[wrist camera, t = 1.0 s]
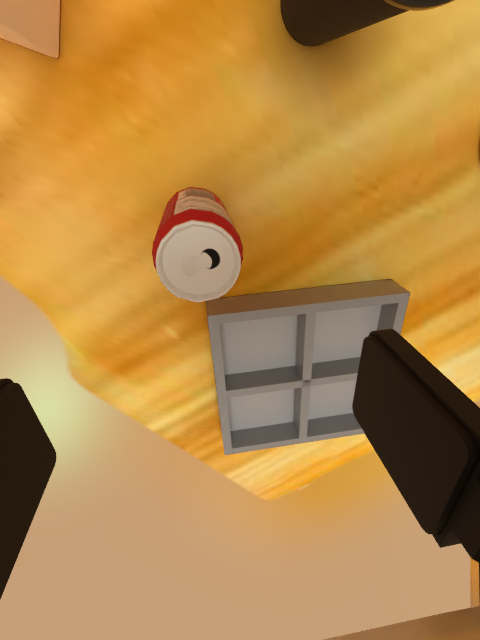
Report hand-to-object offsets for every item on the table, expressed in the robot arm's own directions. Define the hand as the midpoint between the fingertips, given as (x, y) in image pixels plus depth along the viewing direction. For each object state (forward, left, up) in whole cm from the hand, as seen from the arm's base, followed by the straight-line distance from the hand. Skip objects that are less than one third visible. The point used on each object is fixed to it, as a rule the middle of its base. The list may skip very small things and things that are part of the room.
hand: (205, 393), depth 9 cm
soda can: (0, 0, -23) cm, 23 cm away
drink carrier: (-10, +18, -23) cm, 31 cm away
